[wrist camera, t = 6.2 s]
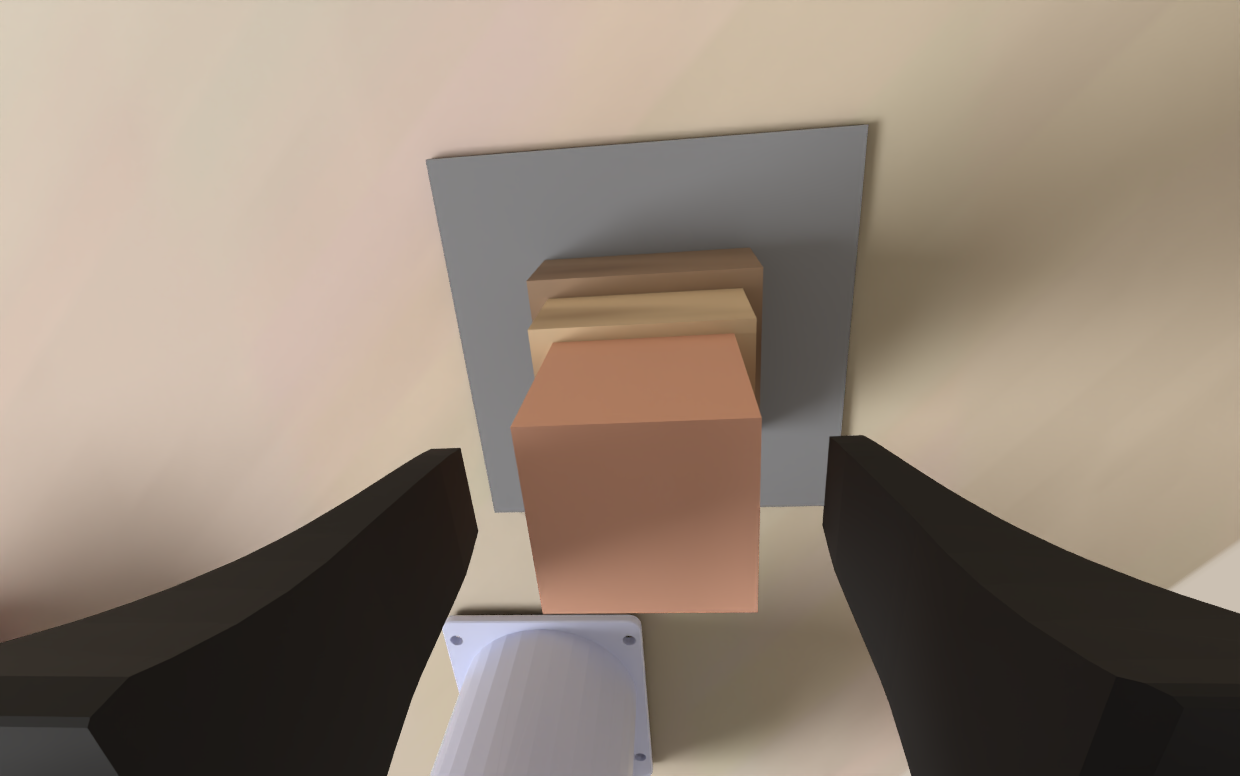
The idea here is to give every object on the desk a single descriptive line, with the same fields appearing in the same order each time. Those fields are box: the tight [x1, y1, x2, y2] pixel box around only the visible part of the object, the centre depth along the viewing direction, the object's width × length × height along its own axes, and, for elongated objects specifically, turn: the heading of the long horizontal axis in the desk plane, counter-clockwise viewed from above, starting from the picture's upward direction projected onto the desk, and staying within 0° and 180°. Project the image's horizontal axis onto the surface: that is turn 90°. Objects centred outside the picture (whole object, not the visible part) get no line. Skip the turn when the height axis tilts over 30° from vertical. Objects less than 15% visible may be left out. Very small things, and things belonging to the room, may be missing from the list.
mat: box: [426, 125, 868, 513], centre depth 19 cm, size 12×12×1 cm
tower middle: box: [528, 288, 757, 395], centre depth 15 cm, size 5×5×2 cm
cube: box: [510, 333, 762, 614], centre depth 12 cm, size 4×4×4 cm
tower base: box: [526, 248, 763, 411], centre depth 17 cm, size 6×6×2 cm
